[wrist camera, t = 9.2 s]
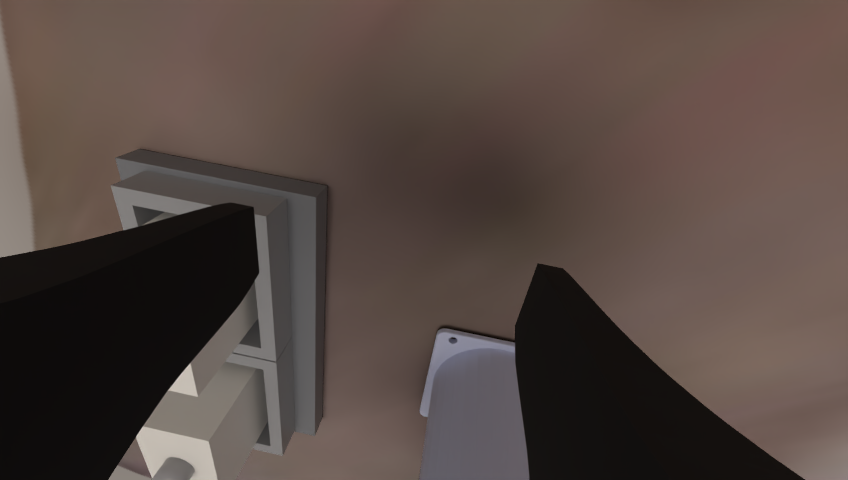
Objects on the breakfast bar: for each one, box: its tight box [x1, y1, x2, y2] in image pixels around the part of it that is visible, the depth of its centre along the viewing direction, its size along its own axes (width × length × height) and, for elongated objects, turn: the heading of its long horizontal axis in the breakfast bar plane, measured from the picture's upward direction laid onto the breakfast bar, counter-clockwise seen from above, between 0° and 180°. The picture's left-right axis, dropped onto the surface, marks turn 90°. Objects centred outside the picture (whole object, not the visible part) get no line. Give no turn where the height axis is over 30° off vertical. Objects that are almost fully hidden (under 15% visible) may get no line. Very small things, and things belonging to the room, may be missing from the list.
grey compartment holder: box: [111, 149, 327, 480], centre depth 21 cm, size 10×19×8 cm, turn 171°
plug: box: [144, 212, 258, 397], centre depth 18 cm, size 4×6×7 cm, turn 171°
